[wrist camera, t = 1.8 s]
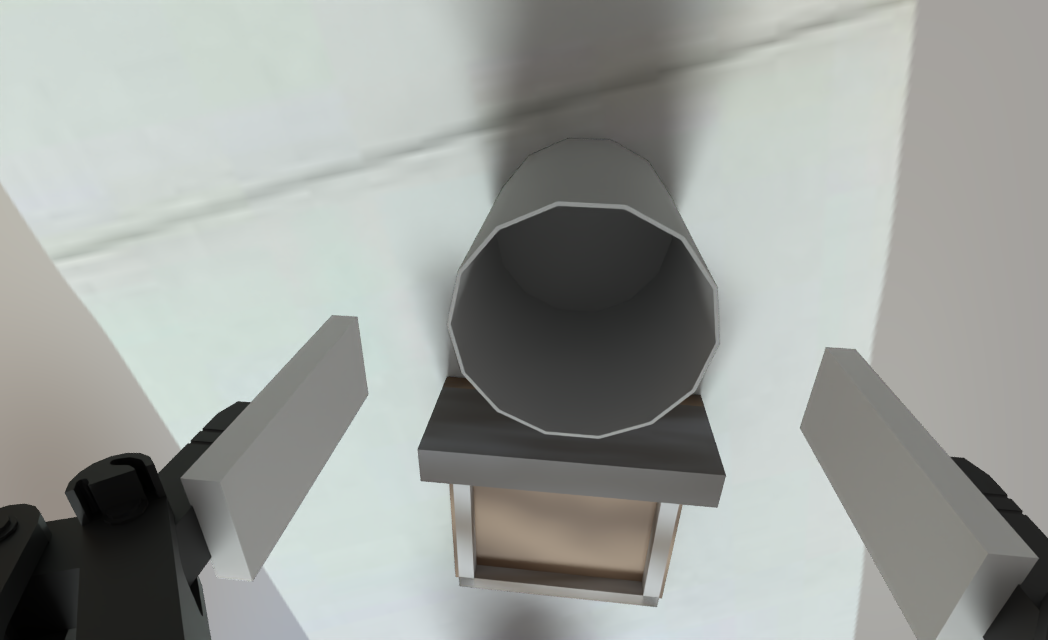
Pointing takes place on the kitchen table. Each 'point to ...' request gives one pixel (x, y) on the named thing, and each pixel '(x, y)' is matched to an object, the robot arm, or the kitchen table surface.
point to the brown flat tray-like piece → (567, 498)
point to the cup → (584, 296)
